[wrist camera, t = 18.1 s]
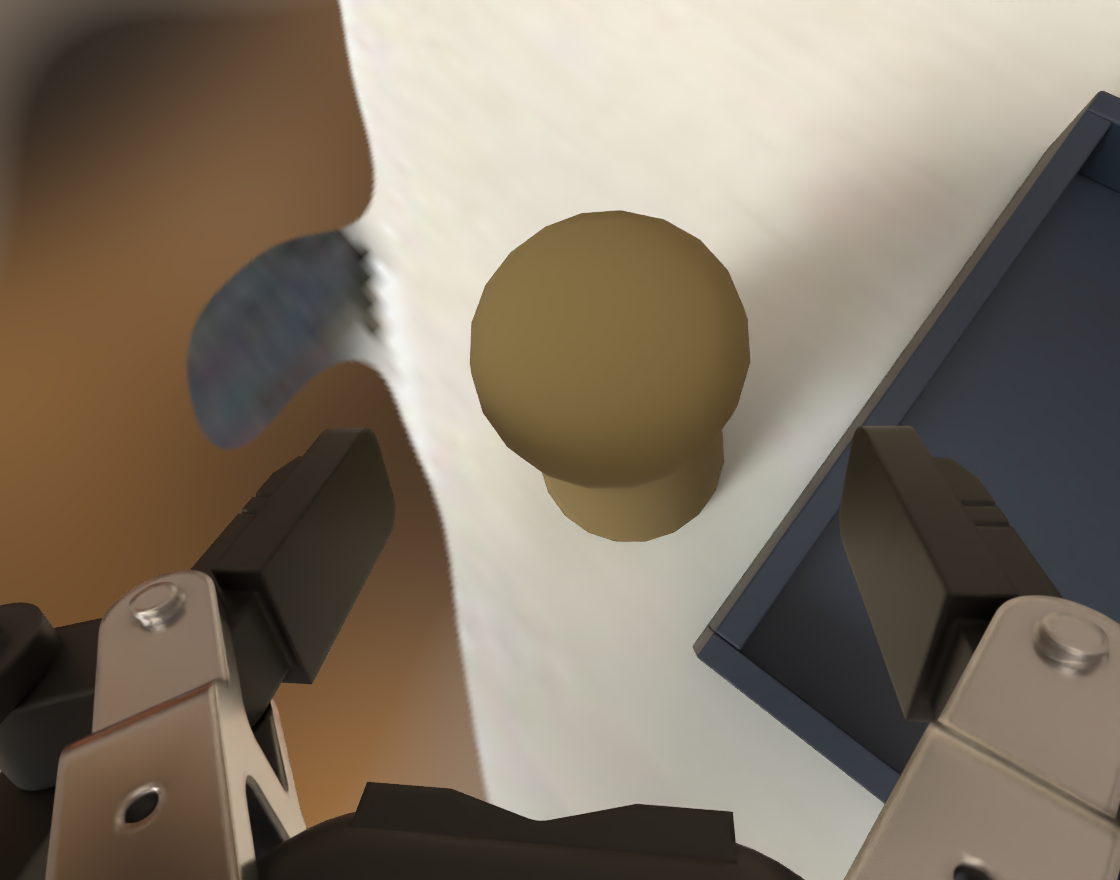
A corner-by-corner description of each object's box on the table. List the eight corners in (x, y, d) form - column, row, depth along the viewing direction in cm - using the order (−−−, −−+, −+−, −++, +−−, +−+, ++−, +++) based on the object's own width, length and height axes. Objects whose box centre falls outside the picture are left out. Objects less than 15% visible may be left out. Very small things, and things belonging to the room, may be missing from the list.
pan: (1047, 149, 21) (1101, 87, 19) (1484, 354, 18) (1622, 315, 15) (691, 647, 20) (696, 656, 17) (1104, 968, 16) (1188, 1040, 14)
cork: (755, 406, 21) (853, 223, 10) (674, 576, 20) (689, 568, 9) (589, 334, 22) (524, 108, 12) (507, 490, 21) (358, 400, 11)
